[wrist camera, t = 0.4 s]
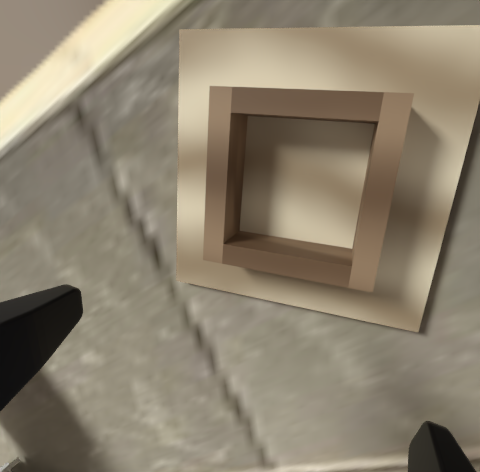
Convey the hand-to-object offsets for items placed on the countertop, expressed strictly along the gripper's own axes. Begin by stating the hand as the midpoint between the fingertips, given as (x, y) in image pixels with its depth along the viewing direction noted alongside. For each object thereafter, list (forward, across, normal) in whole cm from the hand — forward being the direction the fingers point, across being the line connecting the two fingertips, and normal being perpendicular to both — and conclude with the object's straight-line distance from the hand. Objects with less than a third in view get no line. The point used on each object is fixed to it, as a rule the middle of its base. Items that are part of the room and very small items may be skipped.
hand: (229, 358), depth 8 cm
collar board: (+14, +1, 0) cm, 14 cm away
